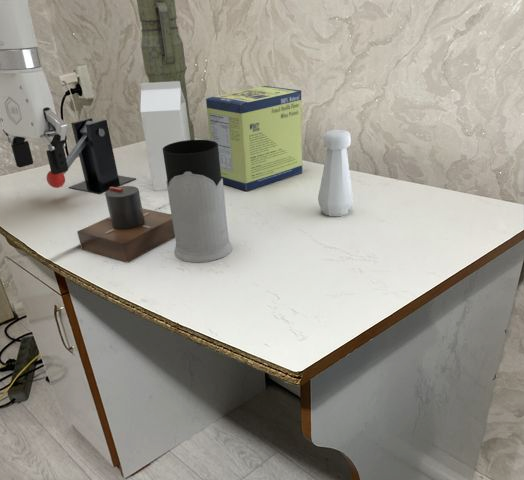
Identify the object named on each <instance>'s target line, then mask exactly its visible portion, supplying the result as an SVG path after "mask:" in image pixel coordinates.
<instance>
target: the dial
mask: <svg viewBox="0 0 524 480" xmlns="http://www.w3.org/2000/svg"><path fill="white" fill-rule="evenodd" d="M109 189H110V190H108V191H106V192H104V196H105V200H106V205H107V210H108V214H109V217H110V219H111V223H112V226H113V227H114V228H117V229H130V228H134V227H137V226H140V225H142V224H143V223H144V221H145V220H144V215H143V210H142V208H143V205H142V200H141V194H140V189H139V188H138V187H137V186H133V185H121V186H119V187H109Z"/></svg>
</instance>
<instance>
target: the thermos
mask: <svg viewBox="0 0 524 480" xmlns="http://www.w3.org/2000/svg"><path fill="white" fill-rule="evenodd" d="M175 2H176V1H175V0H136V5H137V10H138V11H137V12H138V16H139V22H140V23H141V44H140V48H141V54H142V60H143V61H142V62H143V67H144V71H145V76H146V77H147V78H148V83H156V82H173V81H180V86H181V90H182V93H183V96H184V99H185V102H186V109H187V117H188V125H189V133H190V140H196V137H195V130H194V129H195V128H194V123H193V122H192V120H191V117H190V110H189V108H190V107H189V101H188V99H189V98H188V92H187V85H186V77H185V75H186V71H187V65H186V58H185V48H184V43H183V40H182V38H181V35H180V32H179V26H178V25H177V19H178V17H177V10H176V9H177V8H176V3H175Z"/></svg>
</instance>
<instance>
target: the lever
mask: <svg viewBox="0 0 524 480" xmlns="http://www.w3.org/2000/svg"><path fill="white" fill-rule="evenodd" d="M92 122H96V120H95V121H94V120H93V121H87V122H86V123H85V124H89V123H92ZM80 132H81V134H82V135H83V136H82V137H81V139H80V140H79V142H78V143H77V144H76V143H75V146H74V147H73V148H72V150H71V151H70V152H69V153H68V155H67V156H66V161H67V165H68V170H69V169H70V168H71V166H72V165H73V163H74V162H75V161H76V159H77V158H78V157H79V154H80V152H81V151H82V150H83V148H84V147H85V146H86V144H87V143H88V141H89V138H88V134H87V130H86V125H84V126H83V127H82V129H81V130H80ZM66 173H67V171H66V172H63V173H60V174H56V175H54V174H52V173H51V170H49V171H48V172H47V174H46V182H47V183H48V185H49V186H50V187H52V188H53V189H54V188H55V189H60V188H62V187H63V186H64V185H65V183H66V177H65V174H66Z"/></svg>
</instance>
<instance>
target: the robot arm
mask: <svg viewBox="0 0 524 480" xmlns="http://www.w3.org/2000/svg"><path fill="white" fill-rule="evenodd" d="M31 14H32V13H31V9H30V5H29V1H28V0H0V125H1V127H2V131H3V133H4V134H5V135H6V137H7V142H8V143H9V145H10V146H11V149H12V150H11V151H12V154H13V157H14V161H15V165H16V167H17V168H24V167H27V166H32V165H33V164H34V159H33V155H32V151H31V147H30V143H29V140H27V139H31V140H36V139H37V140H38V139H41V140H42V141H43V143H44V145H45V146H46V147H47V149H48V150H46V155H47V156H46V157H47V161H48V164H49V168H50V171H51V173H52V174H54V175H56V174H60V173H63V172H66V173H67V172H68V171H69V169H68V165H67V161H66V158H67V156H66V151H65V148H66V142H67V139H68V136H67V131H68V123H66V121H65V120H63V119H62V118H61V117H60V116H59V115H57V110H56V106H55V102H54V99H53V95H52V91H51V89H50V86H49V83H48V80H47V78H46V75H45V72H44V70H43V65H42V60H41V55H40V51H39V47H38V42H37V37H36V33H35V32H36V31H35V28H34V24H33V19H32V15H31ZM51 138H52V140H51Z"/></svg>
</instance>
